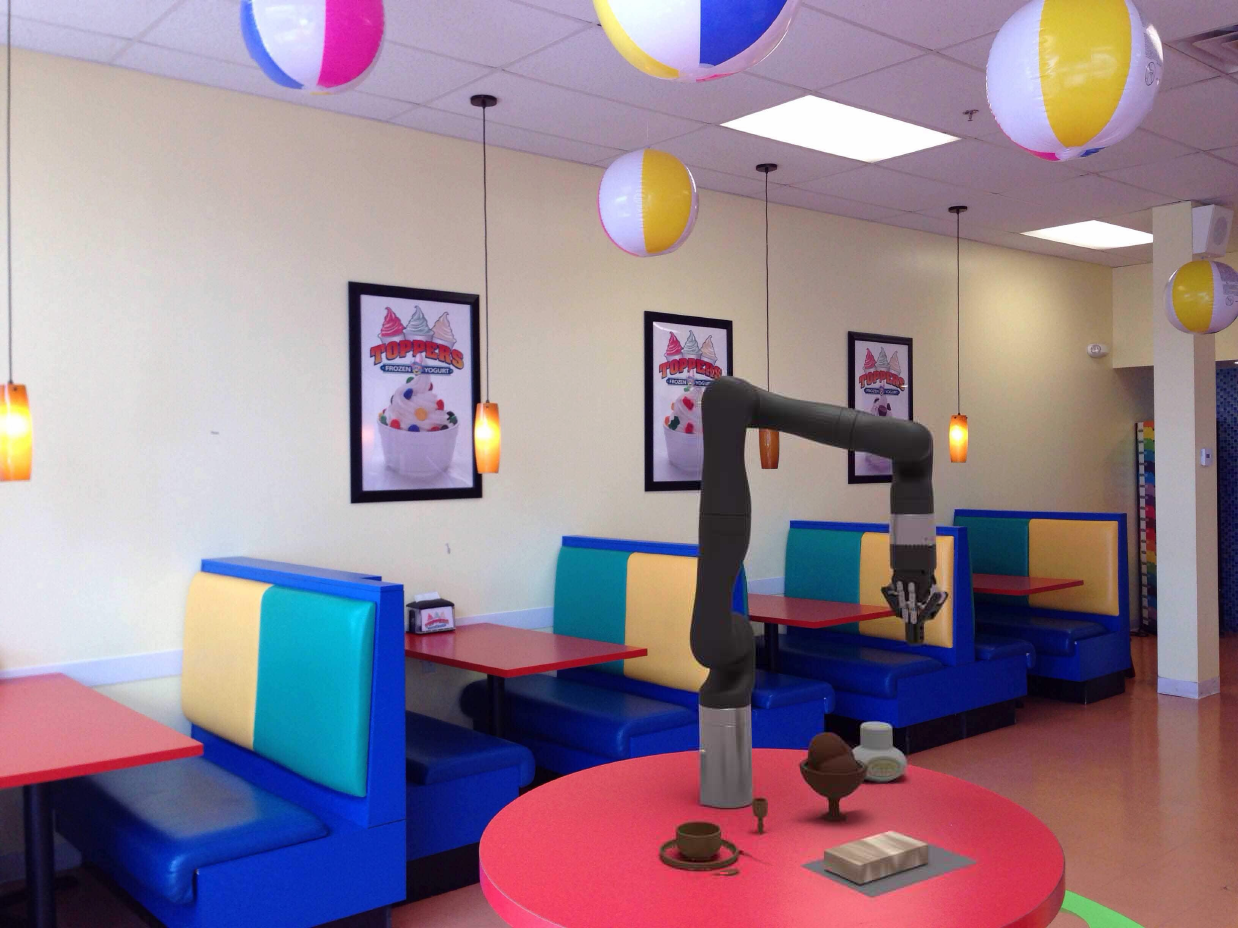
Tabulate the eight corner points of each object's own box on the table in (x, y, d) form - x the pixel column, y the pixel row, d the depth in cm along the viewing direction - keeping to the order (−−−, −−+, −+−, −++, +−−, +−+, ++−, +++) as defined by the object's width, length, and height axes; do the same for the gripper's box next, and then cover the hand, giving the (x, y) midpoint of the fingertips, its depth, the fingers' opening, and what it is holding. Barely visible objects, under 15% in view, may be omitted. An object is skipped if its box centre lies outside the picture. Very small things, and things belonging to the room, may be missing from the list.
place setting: (646, 844, 163) (645, 806, 163) (764, 831, 168) (763, 795, 168) (677, 885, 146) (676, 844, 146) (807, 870, 151) (806, 830, 151)
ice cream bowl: (870, 834, 163) (868, 740, 164) (799, 831, 166) (797, 738, 166) (867, 813, 174) (865, 724, 174) (800, 810, 176) (799, 722, 176)
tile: (929, 863, 149) (859, 885, 141) (892, 849, 154) (824, 870, 147) (928, 843, 149) (859, 864, 141) (891, 830, 155) (823, 849, 147)
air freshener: (899, 770, 198) (898, 719, 199) (912, 783, 190) (911, 729, 190) (843, 772, 198) (842, 720, 198) (854, 784, 190) (853, 730, 190)
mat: (871, 903, 137) (871, 897, 137) (800, 870, 149) (800, 864, 149) (979, 866, 149) (978, 861, 149) (904, 839, 161) (904, 834, 161)
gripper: (867, 540, 174) (869, 642, 174) (928, 544, 163) (931, 653, 163) (897, 538, 178) (900, 638, 178) (960, 541, 167) (962, 648, 167)
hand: (915, 645), depth 170 cm, fingers closed
